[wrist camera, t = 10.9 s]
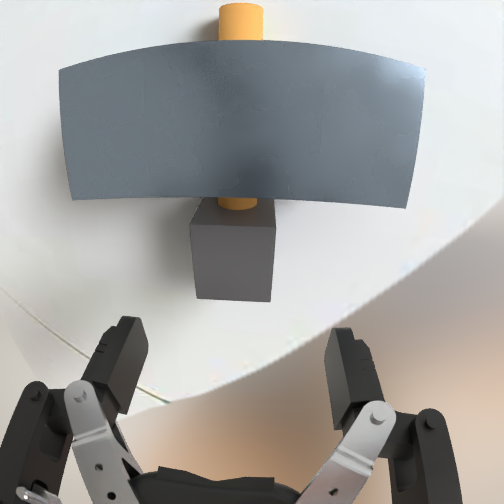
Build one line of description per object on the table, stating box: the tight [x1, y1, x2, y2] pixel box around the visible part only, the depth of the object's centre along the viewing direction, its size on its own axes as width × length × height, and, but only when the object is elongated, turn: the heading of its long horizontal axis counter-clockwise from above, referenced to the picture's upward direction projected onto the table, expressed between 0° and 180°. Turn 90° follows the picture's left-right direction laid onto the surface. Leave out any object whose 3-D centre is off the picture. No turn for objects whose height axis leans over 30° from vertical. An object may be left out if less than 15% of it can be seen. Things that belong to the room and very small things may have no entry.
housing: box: [59, 40, 425, 209], centre depth 13 cm, size 14×6×8 cm, turn 89°
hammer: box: [190, 3, 276, 302], centre depth 15 cm, size 4×17×4 cm, turn 178°
